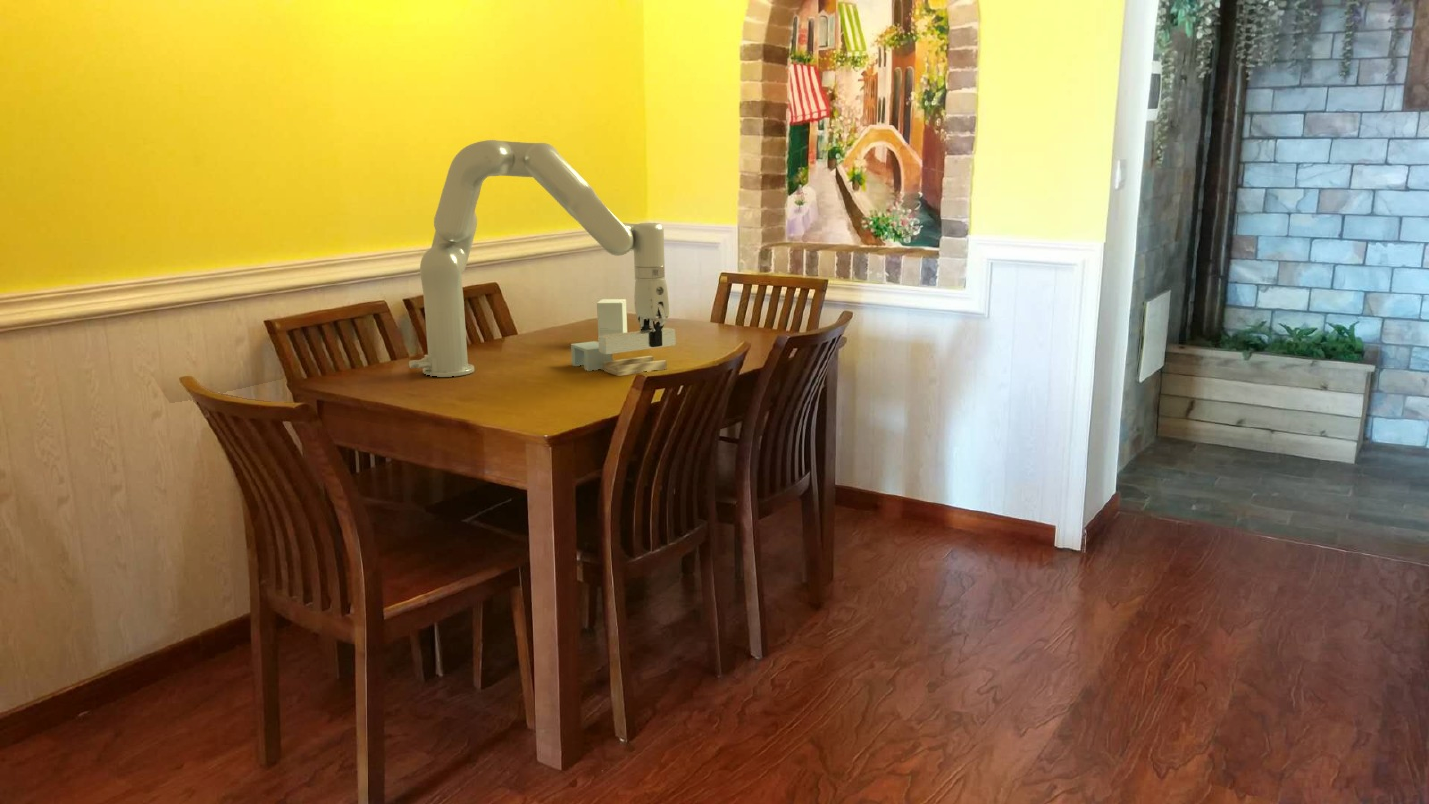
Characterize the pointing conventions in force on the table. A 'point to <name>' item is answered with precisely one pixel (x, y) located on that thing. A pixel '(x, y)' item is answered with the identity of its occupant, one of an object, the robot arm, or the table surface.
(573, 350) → the grey arch block
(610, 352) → the bar
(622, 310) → the supplement box
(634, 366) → the cradle
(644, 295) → the robot arm
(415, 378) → the table surface
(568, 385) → the table surface
